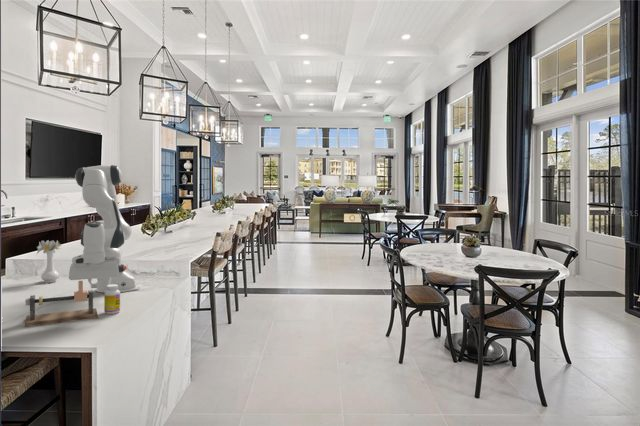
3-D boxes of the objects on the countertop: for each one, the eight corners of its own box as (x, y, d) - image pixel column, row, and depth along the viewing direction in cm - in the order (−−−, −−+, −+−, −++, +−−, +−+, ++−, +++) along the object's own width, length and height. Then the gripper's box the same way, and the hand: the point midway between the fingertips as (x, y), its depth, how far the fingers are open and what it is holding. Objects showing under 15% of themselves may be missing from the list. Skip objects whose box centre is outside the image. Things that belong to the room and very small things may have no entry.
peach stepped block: (86, 298, 195) (86, 279, 194) (87, 300, 191) (87, 281, 190) (74, 299, 192) (74, 280, 191) (74, 302, 188) (74, 282, 188)
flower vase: (59, 277, 265) (58, 237, 263) (64, 283, 251) (64, 241, 249) (34, 279, 257) (33, 238, 255) (38, 286, 243) (38, 242, 241)
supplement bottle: (116, 314, 196) (116, 287, 196) (101, 314, 196) (101, 287, 195) (122, 310, 203) (122, 283, 202) (108, 310, 203) (108, 283, 202)
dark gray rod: (90, 298, 195) (90, 291, 195) (90, 300, 192) (90, 293, 192) (26, 305, 182) (26, 296, 182) (25, 307, 179) (25, 299, 179)
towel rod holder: (96, 311, 200) (96, 288, 199) (97, 318, 191) (97, 293, 190) (26, 319, 186) (26, 294, 185) (24, 326, 177) (24, 300, 176)
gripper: (118, 255, 201) (118, 284, 202) (68, 258, 191) (68, 288, 191) (120, 257, 196) (120, 287, 197) (68, 260, 185) (68, 291, 186)
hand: (94, 287), depth 194 cm, fingers closed
